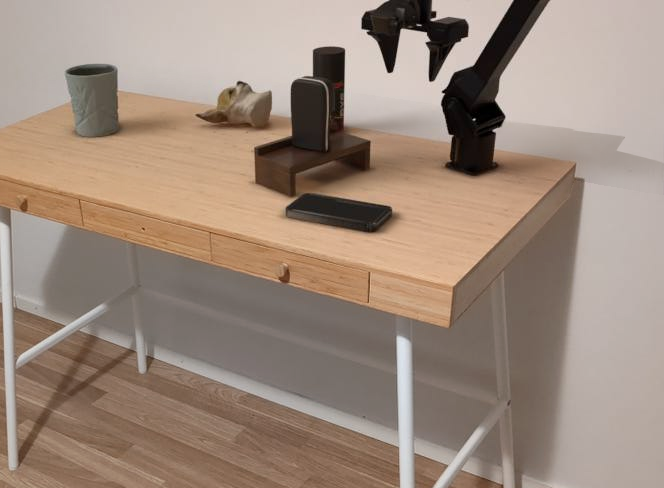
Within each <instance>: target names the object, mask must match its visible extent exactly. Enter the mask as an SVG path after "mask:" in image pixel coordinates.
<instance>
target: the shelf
mask: <svg viewBox="0 0 664 488" xmlns="http://www.w3.org/2000/svg"><path fill="white" fill-rule="evenodd" d="M337 130H338V124H337V123H331V124H330V128H329V135H330V141H331V148H330V149H328V150H327V151H325V152H321V151H314V150H308V149H304V148H300V147H296V146H293V145H292V135H289V136H286V137H283V138H280V139H276V140H273V141H270V142H267V143H264V144H260V145H256V146H254V147H253V154H254V177H255V178H254V182H255V184H257V185H260V186H263V187H265V188H267V189H269V190H271V191H274V192H277V193H279V194H282V195H284V196H287V197H289V198H293V197H295V196H296V195H297V182H296V181H297V175H296V174H299V173H303V172H305V171H308V170H312V169H314V168H317V167H320V166H322V165H326V164H328V163H331V162H338V163H341V164H344V165H347V166H349V167H353V168H355V169H356V168H357V169H358V170H362V171H365V172H366V171H368V170H370V169H371V144H372V143H371V140H369V139H367V138H363V137H360V136H356V135H353V134H351V133H347V132H344V131H343V132H341V131H337Z"/></svg>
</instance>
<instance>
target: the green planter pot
mask: <svg viewBox="0 0 664 488" xmlns="http://www.w3.org/2000/svg"><path fill="white" fill-rule="evenodd" d="M118 71H119V70H118V67H117V66H116V65H113V64H109V63H87V64H86V63H85V64H79V65H75V66H71V67H68V68H67V69H65V70H64V76H65V81H66V85H67V90H68V94H69V97H70V104H71V109H72V113H73V121H74V125H75V131H76V134H77V135H79V136H81V137H87V138H98V137H105V136H109V135H113V134H114V133H116V132H118V131H119V129H120V122H119V121H120V119H119V117H120V116H119V111H118V110H119V96H118V89H119V85H118V84H119V82H118V81H119V80H118V74H119V73H118Z"/></svg>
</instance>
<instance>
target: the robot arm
mask: <svg viewBox="0 0 664 488" xmlns="http://www.w3.org/2000/svg"><path fill="white" fill-rule="evenodd" d="M550 1H551V0H512V2H511V3H510V5H509V7H508V8H507V10H506V11H505V13H504V15H503V17H501V20H500V21H499V23H498V24H497V26H496V28H495V29H494V31H493V33H492V34H491V36H490V37H489V38H488V41H487V43H486V44H485V46H484V47H483V49H482V50H481V52H480V54H479V56H478V57H477V59H476V61H475V62H474V64H473V65H471V66H468V67H464V68H463V69H460V70H457V71H454V72H453V73H452V74H451V75H452V76H450V79H449V82H448V83H447V86H446V87H445V88H444V89H443V90H442V91H441V93H442V94H444V95H442V98H441V101H440V107H441V111H442V113H443V115H444V120H445V125H446V130H447V134H448V135H449V136H451V141H450V152H449V153H450V154H449V160H450V161H447V162H445V163H444V167H445V168H448V169H451V170H454V171H458V172H462V173H465V174H467V175H470V176H477V175H481V174H482V173H485V172H487V171H490V170H493V169H495V168H498V167H499V162H496V161H494V157H495V146H496V138H497V132H496V131H495V130H496V129H501V128H502V126H503V124H504V122H505V120H506V118H507V117H506V115H505V113H504V112H503V110H502V108H501V107H500V105H499V104H498V102H497V101H496V99H497V96H498V94H499V92H500V81H501V77H502V75H503V74H504V72H505V70H506V69H507V68H508V66H509V65H510V63H511V61H512V60H513V58H514V57H515V55H516V54H517V52H518V51H519V49H520V48H521V46H522V44H523V43H524V41H525V39H526V38H527V37H528V36H529V33H530V32H531V30H532V29H533V27H534V26H535V25H536V23H537V21H538V20H539V18H540V16H541V15H542V14H543V12H544V10H545V8H546V7H547V5H549V2H550ZM437 14H438V13H437V10H433V0H387V1H384V2H383V3H381V4H380V5H379V6H378V7H377V8H375V9H369V10H366V11H365V12H364V13H363V15H362V17H361V20H360V21H361V24H360V27H361V30H364V31H366V34H367V35H368V36H370V37H371V38H373V39H374V40H375V41H376V43H377V45H378V49H379V50H380V53H381V56H382V60H383V63H384V66H385V69H386V72H387V74H392V73H394V70H395V66H396V61H397V55H398V49H399V43H400V36H401V31H402V30H409V31H415V32H421V33H426V36H427V38H428V39H429V41H425V45H426V47H427V49H428V51H429V55H428V56H429V57H428V82H430V83H432V82H435V81H436V79H437V77H438V75H439V73H440V71H441V70H442V67H443V65H444V63H445V61H446V60H447V58H448V56H449V55H450V53H451V51H452V50H453V49H454V47H455V45H456V44H457V43H460V42H462V40H463V39H467V38H469V33H470V32H469V30H470V25H469V22H468V21H467V19H466V18H460V17H453V16H446V17H443V18H439V19H436V18H437ZM433 19H434V20H433Z"/></svg>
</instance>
